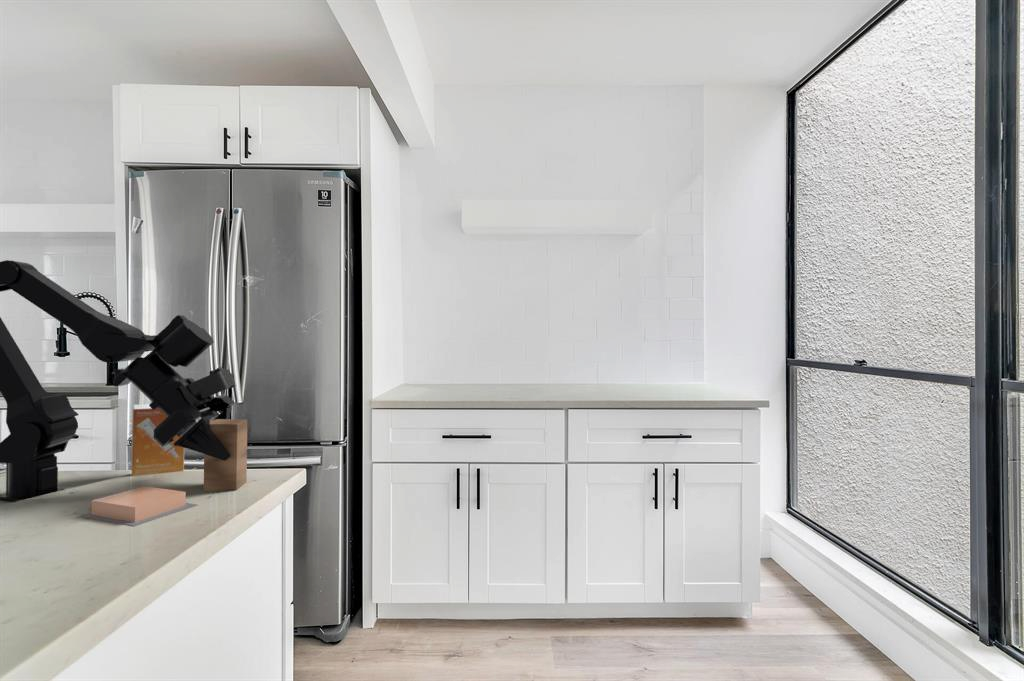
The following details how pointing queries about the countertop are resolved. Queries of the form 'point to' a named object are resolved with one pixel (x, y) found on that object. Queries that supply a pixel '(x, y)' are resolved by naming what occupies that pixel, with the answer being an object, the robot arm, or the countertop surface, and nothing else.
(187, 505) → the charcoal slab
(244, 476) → the walnut pillar
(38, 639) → the countertop surface
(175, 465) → the small box
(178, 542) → the countertop surface
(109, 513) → the terracotta tile
